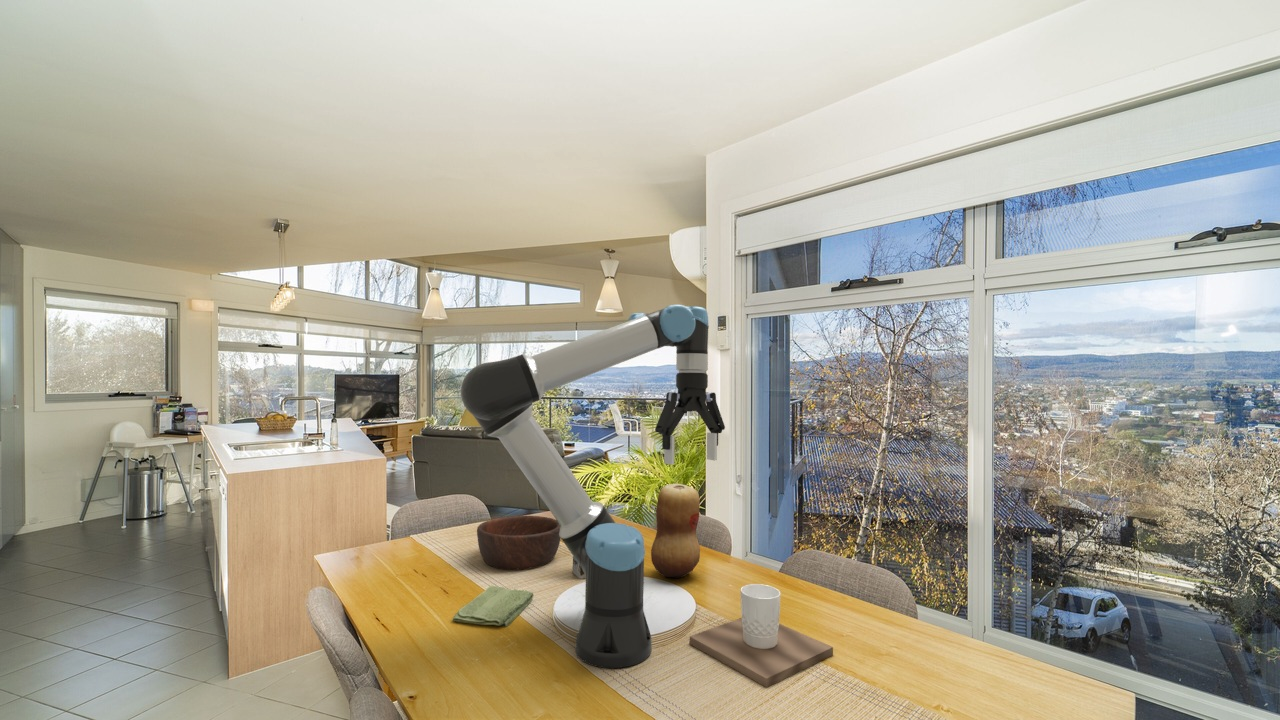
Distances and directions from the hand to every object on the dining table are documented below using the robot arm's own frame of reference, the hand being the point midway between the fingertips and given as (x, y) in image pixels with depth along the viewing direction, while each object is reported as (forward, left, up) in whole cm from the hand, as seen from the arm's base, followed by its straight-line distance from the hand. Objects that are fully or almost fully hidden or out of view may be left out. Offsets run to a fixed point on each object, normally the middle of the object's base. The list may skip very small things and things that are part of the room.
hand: (691, 461), depth 130 cm
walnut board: (-1, -22, -35) cm, 41 cm away
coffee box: (-5, +35, -35) cm, 50 cm away
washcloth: (-36, +26, -35) cm, 57 cm away
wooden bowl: (-16, +58, -35) cm, 70 cm away
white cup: (-1, -22, -33) cm, 40 cm away
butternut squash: (+13, +20, -35) cm, 42 cm away
